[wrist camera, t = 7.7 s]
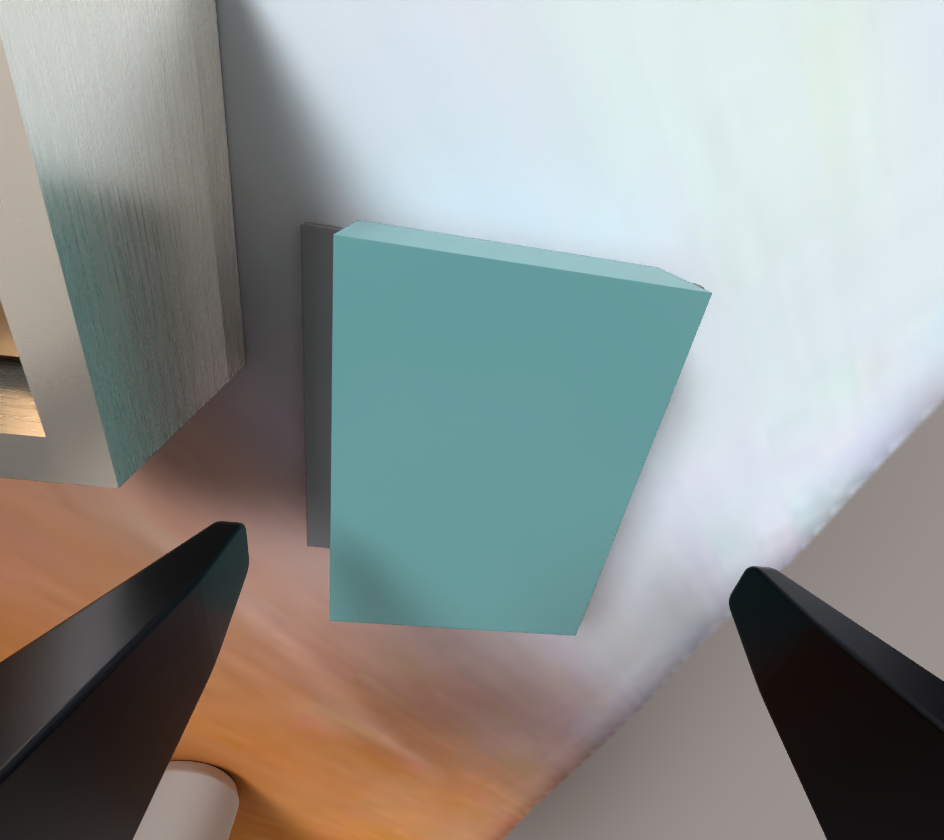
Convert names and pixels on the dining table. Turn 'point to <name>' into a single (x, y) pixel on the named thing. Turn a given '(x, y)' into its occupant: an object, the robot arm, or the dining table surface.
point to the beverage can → (191, 804)
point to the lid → (489, 423)
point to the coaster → (318, 375)
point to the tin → (111, 233)
